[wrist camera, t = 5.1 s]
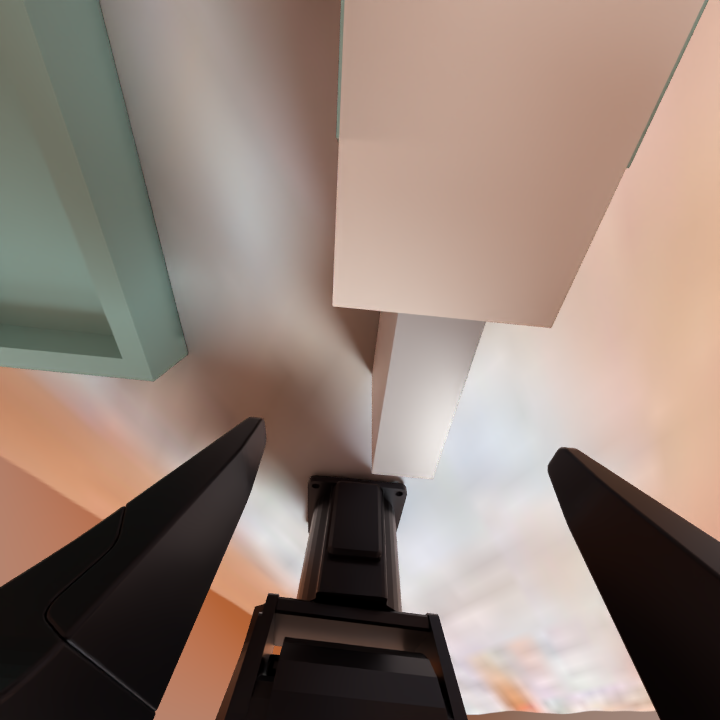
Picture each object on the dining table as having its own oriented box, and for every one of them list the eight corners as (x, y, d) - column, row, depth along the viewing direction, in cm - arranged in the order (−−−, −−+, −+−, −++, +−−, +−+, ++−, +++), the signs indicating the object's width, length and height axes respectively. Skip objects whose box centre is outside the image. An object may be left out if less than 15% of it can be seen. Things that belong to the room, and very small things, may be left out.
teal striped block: (439, 381, 14) (479, 484, 9) (342, 372, 14) (324, 469, 9) (539, 29, 8) (856, -312, 3) (366, 10, 8) (354, -371, 3)
